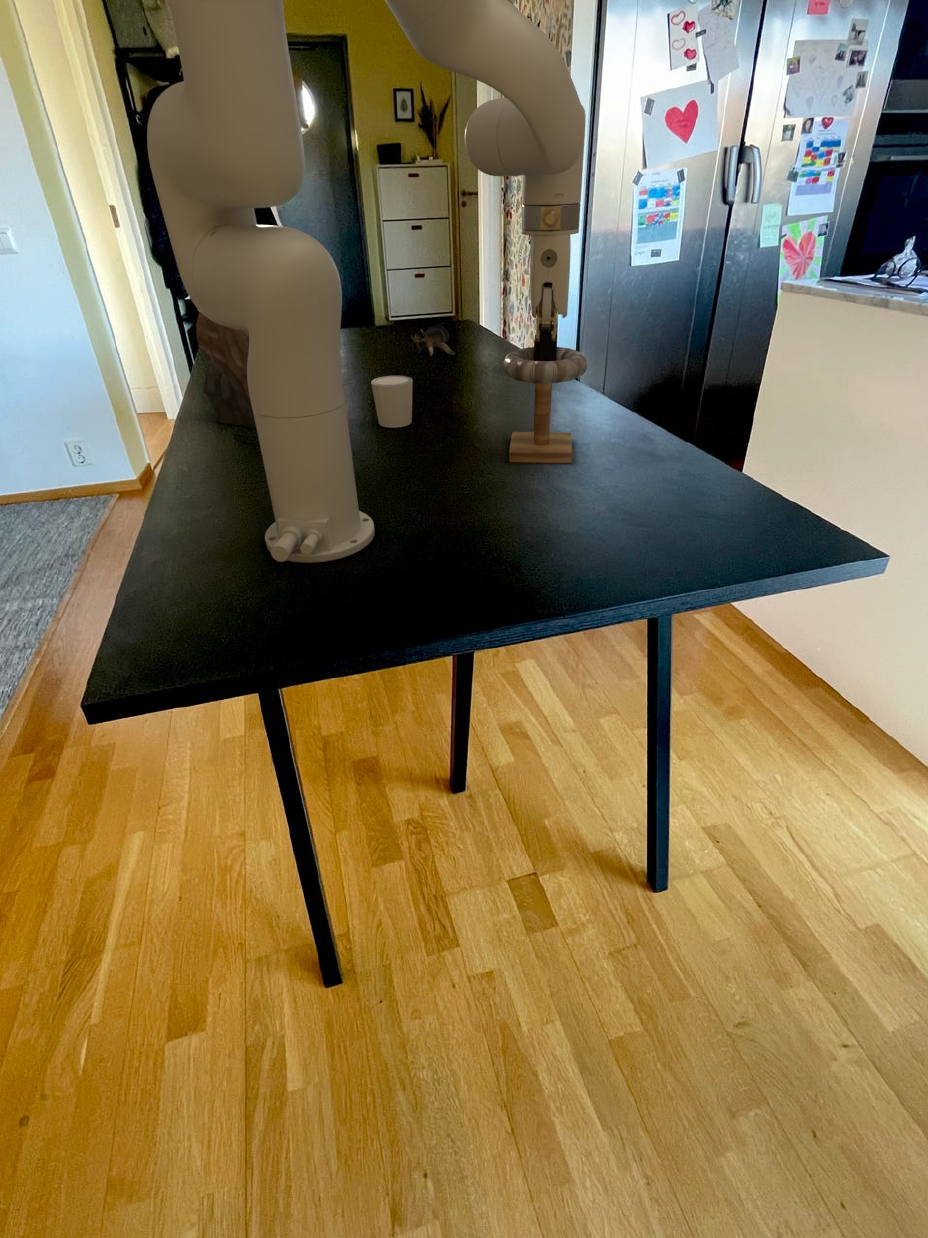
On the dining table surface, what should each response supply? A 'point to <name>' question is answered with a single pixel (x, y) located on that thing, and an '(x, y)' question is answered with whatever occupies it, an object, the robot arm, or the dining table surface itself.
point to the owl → (226, 371)
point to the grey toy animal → (433, 339)
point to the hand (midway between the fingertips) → (544, 365)
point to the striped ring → (545, 366)
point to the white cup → (393, 400)
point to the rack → (541, 435)
